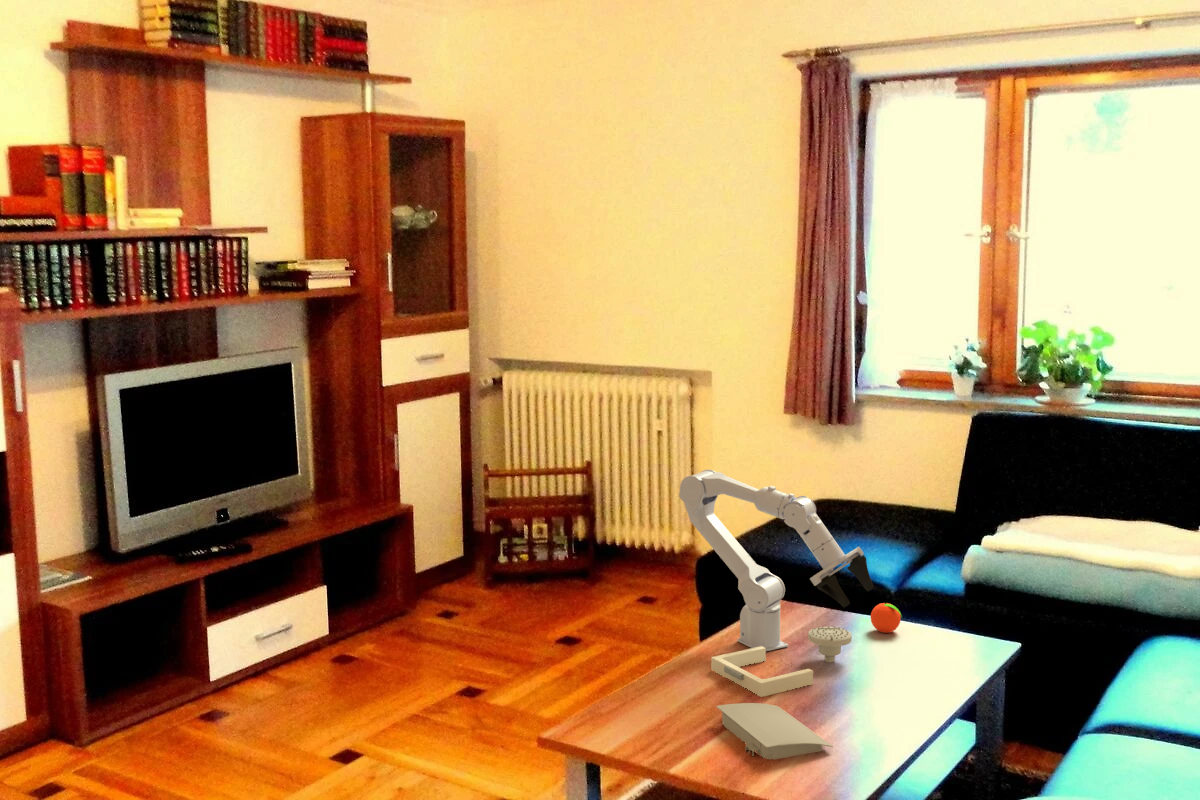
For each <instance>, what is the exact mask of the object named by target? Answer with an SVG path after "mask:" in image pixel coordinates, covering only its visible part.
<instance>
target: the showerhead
mask: <svg viewBox="0 0 1200 800" xmlns="http://www.w3.org/2000/svg"><path fill="white" fill-rule="evenodd" d="M807 636H808V640H809V642H811V643H813V644H814V645H818V652H819V654H821V655H823V656H824V662H826V663H835V660H836V656H838V655H840V654H841V652H842V646H847V645H849V644H850V643H852V636H853V635H852V633H851V632H850V631H849V630H847V629H845V628H841V627H837V626H829V625H828V626H824V625H823V626H818V627H813V628H812V629H810V630H809V631H808V635H807Z"/></svg>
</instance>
